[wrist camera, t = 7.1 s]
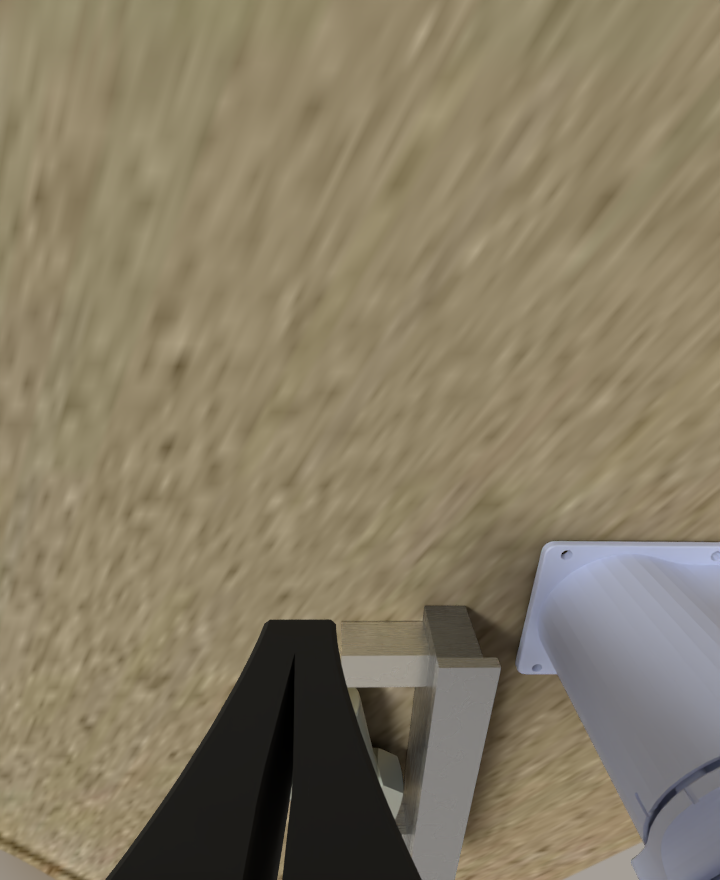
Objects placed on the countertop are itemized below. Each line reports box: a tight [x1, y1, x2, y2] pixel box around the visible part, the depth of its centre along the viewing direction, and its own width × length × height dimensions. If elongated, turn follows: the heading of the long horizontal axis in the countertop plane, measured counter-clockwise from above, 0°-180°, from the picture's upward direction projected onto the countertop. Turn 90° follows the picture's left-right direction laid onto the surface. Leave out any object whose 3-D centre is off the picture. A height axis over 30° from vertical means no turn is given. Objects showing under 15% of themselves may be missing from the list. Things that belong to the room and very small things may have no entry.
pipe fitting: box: [290, 687, 403, 819], centre depth 23 cm, size 8×4×7 cm
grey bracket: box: [341, 606, 501, 880], centre depth 23 cm, size 7×18×4 cm, turn 178°
